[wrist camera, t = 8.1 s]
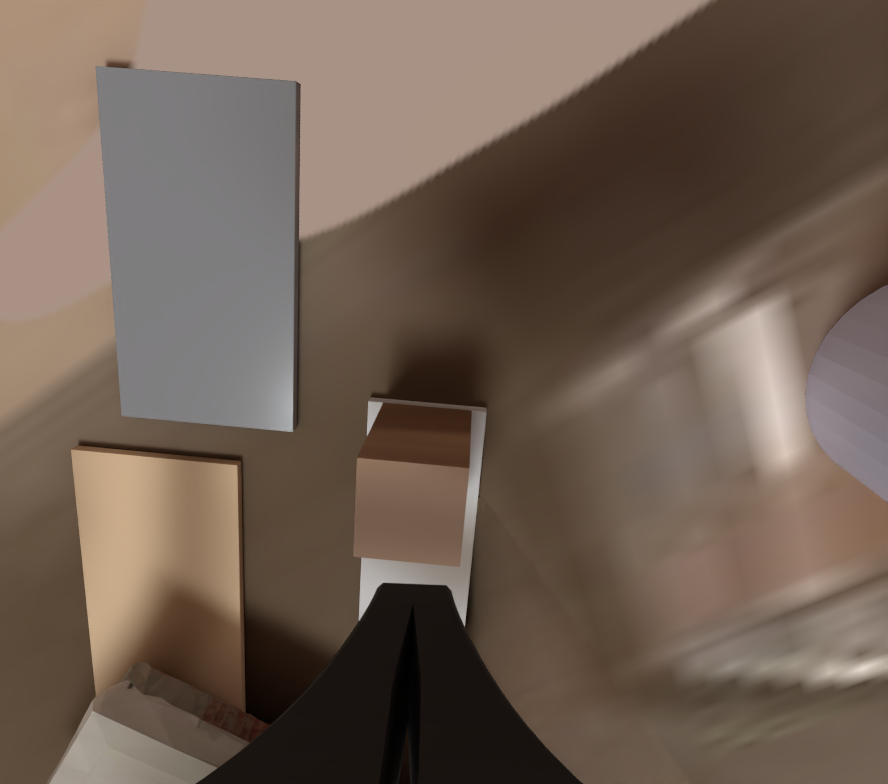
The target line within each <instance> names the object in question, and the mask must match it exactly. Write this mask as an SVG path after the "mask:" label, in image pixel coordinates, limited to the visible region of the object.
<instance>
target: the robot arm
mask: <svg viewBox="0 0 888 784" xmlns="http://www.w3.org/2000/svg"><path fill="white" fill-rule="evenodd" d="M805 396H806V413H807V417H808V420H809V424H810V427H811V431H812V433H813V435H814V436H815V438H816V440H817V442H818V444H819V445H820V447H821V448H822V450H823V451H824V452H825V453H826V454H827V455H828V456H829V457H830V458H831V459H832V460H833V462H835V463H836V464H837V465H839V466H840V467H841V468H843V469H844V470H845V471H847V472H848V473H849V474H851V475H852V476H853V477H855V478H856V479H857V480H859V481H860V482H861V483H863V484H864V485H865V486H867V487H868V488H869V489H871V490H872V491H873V492H875V493H876V494H877V495H879V496H880V497H881V498H883V499H884V500H885V501H887V502H888V285H886V286H884V287H881V288H880V289H878V290H876V291H875V292H873V293H871V294H870V295H868V296H867V297H865V298H863V299H862V300H860V301H859V302H858V303H857V304H855V305H854V306H853V307H852V308H851V309H850V310H848V311H847V312H846V313H845V314H844V315H843V316H842V317H841V318H840V319H839V320H838V321H837V323H836V324H835V325H834V326H833V327H832V329H831V330H830V331H829V332H828V333H827V335H826V337H825V338H824V340H823V342H822V343H821V345H820V347H819V349H818V350H817V352H816V354H815V357H814V360H813V362H812V365H811V368H810V371H809V373H808V380H807V386H806V393H805ZM407 727H408V738H409V765H410V784H583V783H581V782H580V781H579V780H578V779H577V778H576V777H575V776H574V775H573V774H572V773H571V772H570V771H569V770H568V769H567V768H566V767H565V766H564V765H563V764H562V763H561V762H560V761H559V760H558V759H557V758H556V757H555V756H554V755H553V754H552V753H551V752H550V751H549V750H548V749H547V748H546V747H545V746H544V744H543V743H542V742H541V741H540V740H539V739H538V737H537V736H536V735H535V734H534V733H533V732H532V730H531V729H530V728H529V727H528V726H527V724H526V723H525V722H524V721H523V719H522V718H521V717H520V716H519V714H518V713H517V712H516V710H515V709H514V708H513V706H512V705H511V704H510V702H509V701H508V700H507V698H506V697H505V695H504V694H503V692H502V691H501V689H500V688H499V686H498V685H497V683H496V682H495V680H494V679H493V677H492V676H491V674H490V672H489V671H488V669H487V667H486V666H485V664H484V662H483V661H482V659H481V657H480V655H479V653H478V652H477V650H476V648H475V646H474V644H473V642H472V640H471V639H470V637H469V635H468V633H467V631H466V628H465V626H464V624H463V622H462V620H461V617H460V615H459V612H458V610H457V607H456V605H455V602H454V598H453V595H452V591H451V590H450V589H449V588H448V586H447V585H429V584H405V583H382V584H381V585H380V586H379V587H377V589H376V592H375V594H374V596H373V598H372V600H371V602H370V604H369V606H368V607H367V609H366V611H365V612H364V614H363V616H362V617H361V619H360V620H359V622H358V624H357V625H356V627H355V628H354V629H353V631H352V632H351V634H350V635H349V637H348V638H347V639H346V641H345V642H344V644H343V645H342V647H341V648H340V649H339V651H338V652H337V653H336V654H335V656H334V657H333V658H332V659H331V661H330V662H329V663H328V664H327V666H326V667H325V668H324V669H323V671H322V672H321V673H320V674H319V675H318V677H317V678H316V679H315V680H314V681H313V682H312V684H311V685H310V686H309V687H308V688H307V689H306V690H305V691H304V692H303V693H302V695H301V696H300V697H299V698H298V699H297V700H296V701H295V702H294V703H293V704H292V705H291V706H290V707H289V708H288V709H287V710H286V711H285V712H284V713H283V714H282V715H281V716H280V717H279V718H277V719H276V720H275V721H274V722H273V723H272V724H271V725H270V726H269V727H268V728H266V729H265V730H264V731H263V732H262V733H261V734H260V735H259V736H258V737H256V738H255V739H254V740H253V741H252V742H251V743H249V744H248V745H247V746H246V747H244V748H243V749H242V750H241V751H240V752H238V753H237V754H236V755H234V756H233V757H232V758H230V759H229V760H228V761H226V762H225V763H223V764H222V765H221V766H219V767H218V768H217V769H215V770H214V771H213V772H211V773H210V774H209V775H207V776H206V777H205V778H203V779H202V780H200V781H199V782H197V783H196V784H399V777H400V771H401V765H402V758H403V752H404V746H405V739H406V733H407Z"/></svg>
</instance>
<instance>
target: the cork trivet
mask: <svg viewBox="0 0 888 784" xmlns="http://www.w3.org/2000/svg"><path fill="white" fill-rule="evenodd" d="M71 454H72V464H73V474H74V483H75V493H76V503H77V513H78V523H79V533H80V543H81V553H82V563H83V573H84V583H85V592H86V602H87V612H88V622H89V632H90V642H91V652H92V662H93V672H94V682H95V692H96V696H98V695H99V694H100V693H102V692H103V691H104V690H106V689H107V688H108V687H111V686H113V685H116V684H117V683H118V682H119V681H120V680H121V679H122V678H123V677H124V676H125V675H126V673H127V671H128V670H129V668H130V667H131V666H132V665H133V664H135V663H136V662H141V663H148V664H149V665H150V666H151V667H152V668H154V669H158V670H160V671H162V672H163V673H165V674H168V675H170V676H172V677H174V678H177V679H180V680H181V681H182V682H185V683H189V684H191V685H192V686H194V687H196V688H198V689H200V690H202V691H204V692H206V693H209V694H211V696H212V697H217V698H218V699H220V700H221V701H222V702H225V703H227V704H230V705H232V706H234V707H235V708H237V709H239V710H241V711H243V712H245V713H246V706H245V647H244V588H243V529H242V470H241V461H236V460H226V459H215V458H205V457H194V456H184V455H173V454H163V453H152V452H141V451H131V450H120V449H110V448H99V447H89V446H76V447H75V448H73V449H71Z"/></svg>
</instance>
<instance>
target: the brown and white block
mask: <svg viewBox="0 0 888 784" xmlns="http://www.w3.org/2000/svg"><path fill="white" fill-rule="evenodd" d="M486 413H487V408H484V407H473V406H461V405H450V404H439V403H428V402H417V401H406V400H395V399H384V398H373V397H371V398H370V399H369V401H368V423H367V438H366V440H365V442H364V444H363V446H362V449H361V451H360V453H359V455H358V457H357V473H356V499H355V524H354V549H353V557H361V558H362V560H361V583H360V606H359V620H360V619H361V617H362V616H363V614H364V612H365V611H366V609H367V607H368V606H369V604H370V602H371V600H372V598H373V596H374V594H375V592H376V589H377V587H379V586H380V585H381V584H382V583H405V584H429V585H447V586H448V588H449V589H450V590H451V591H452V595H453V598H454V602H455V605H456V607H457V610H458V612H459V615H460V617H461V620H462V622H463V624H464V626H465V620H466V610H467V600H468V591H469V581H470V571H471V561H472V551H473V541H474V531H475V522H476V512H477V502H478V492H479V482H480V472H481V462H482V453H483V443H484V433H485V423H486Z"/></svg>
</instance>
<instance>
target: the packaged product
mask: <svg viewBox="0 0 888 784" xmlns="http://www.w3.org/2000/svg"><path fill="white" fill-rule="evenodd" d="M269 726H270V725H269V724H267V723H265V722H262V721H260V720H258V719H257V718H255V717H254V716H253V715H251V714H247V713H245V712H243V711H241V710H239V709H237V708H235V707H234V706H232V705H230V704H227V703H225V702H222V701H221V700H220V699H218V698H217V697H212V696H211V694H209V693H206V692H204V691H202V690H200V689H198V688H196V687H194V686H192V685H191V684H189V683H185V682H182V681H181V680H180V679H177V678H174V677H172V676H170V675H168V674H165V673H163V672H162V671H160V670H158V669H154V668H152V667H151V666H150V665H149V664H148V663H141V662H136V663H135V664H133V665H132V666H131V667H130V668H129V670H128V671H127V673H126V675H125V676H124V677H123V678H122V679H121V680H120V681H119V682H118V683H117V684H116V685H113V686H111V687H108V688H107V689H106V690H104V691H103V692H102V693H100V694H99V695H98V696H96V697H95V698H94V699H93V700H92V702H91V704H90V706H89V708H88V710H87V711H86V713H85V715H84V717H83V719H82V721H81V723H80V725H79V727H78V729H77V731H76V733H75V735H74V736H73V738H72V740H71V742H70V744H69V746H68V748H67V750H66V752H65V754H64V755H63V757H62V758H61V760H60V762H59V763H58V765H57V766H56V768H55V770H54V771H53V773H52V774H51V776H50V778H49V779H48V781H47V782H46V784H196V783H197V782H199V781H200V780H202V779H203V778H205V777H206V776H207V775H209V774H210V773H211V772H213V771H214V770H215V769H217V768H218V767H219V766H221V765H222V764H223V763H225V762H226V761H228V760H229V759H230V758H232V757H233V756H234V755H236V754H237V753H238V752H240V751H241V750H242V749H243V748H244V747H246V746H247V745H248V744H249V743H251V742H252V741H253V740H254V739H255V738H256V737H258V736H259V735H260V734H261V733H262V732H263V731H264V730H265V729H266V728H268V727H269Z"/></svg>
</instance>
